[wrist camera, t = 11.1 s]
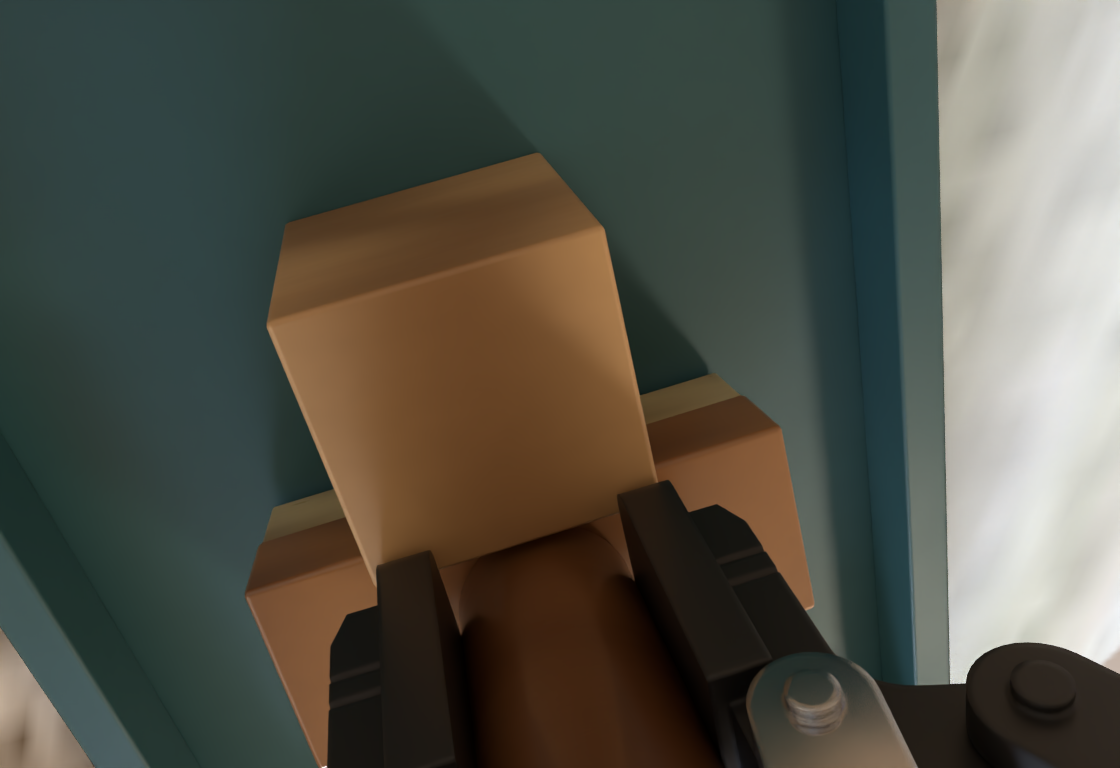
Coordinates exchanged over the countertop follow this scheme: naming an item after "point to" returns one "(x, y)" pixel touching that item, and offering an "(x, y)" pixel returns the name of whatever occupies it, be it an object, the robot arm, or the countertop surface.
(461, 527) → the cork block
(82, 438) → the tray
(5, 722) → the countertop surface
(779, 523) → the stamp
